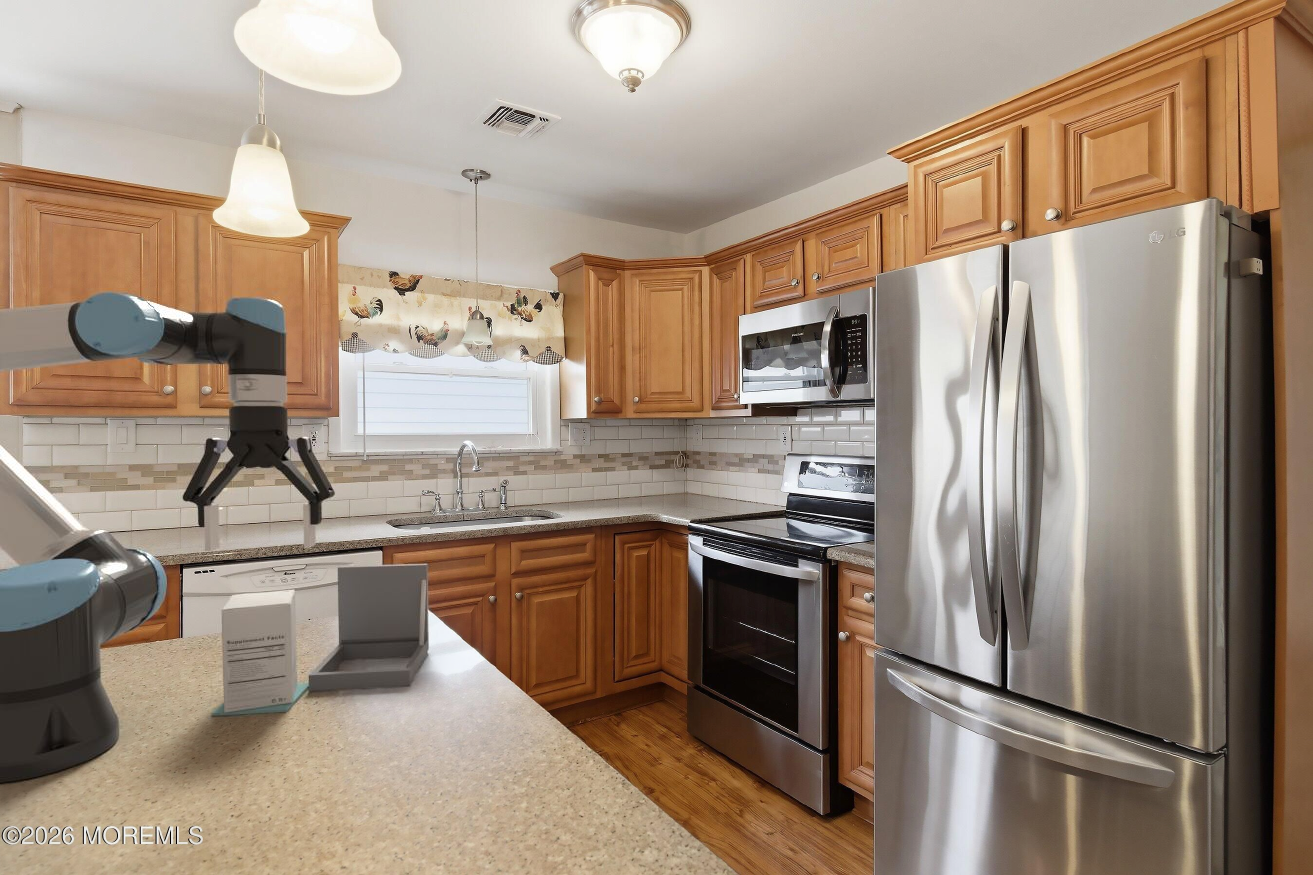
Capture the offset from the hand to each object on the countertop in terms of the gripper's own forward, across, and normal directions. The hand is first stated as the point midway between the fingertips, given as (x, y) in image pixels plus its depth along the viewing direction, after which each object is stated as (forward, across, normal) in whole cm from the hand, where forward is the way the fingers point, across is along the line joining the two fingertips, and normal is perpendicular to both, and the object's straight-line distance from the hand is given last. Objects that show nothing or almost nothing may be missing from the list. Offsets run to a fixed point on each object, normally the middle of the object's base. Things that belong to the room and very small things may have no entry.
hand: (261, 548), depth 105 cm
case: (+23, +13, +10) cm, 28 cm away
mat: (+23, 0, 0) cm, 23 cm away
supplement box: (+23, 0, 0) cm, 23 cm away
